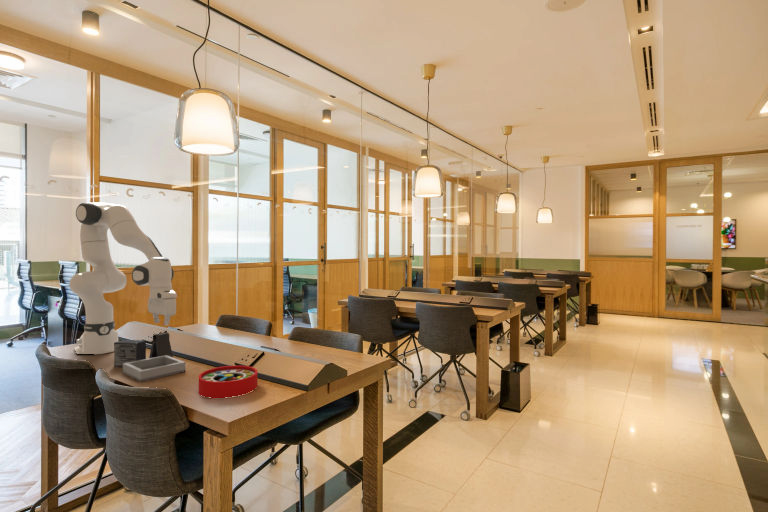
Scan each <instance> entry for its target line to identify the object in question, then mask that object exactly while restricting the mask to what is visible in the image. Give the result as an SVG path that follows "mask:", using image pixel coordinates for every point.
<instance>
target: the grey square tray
mask: <svg viewBox="0 0 768 512" xmlns="http://www.w3.org/2000/svg"><path fill="white" fill-rule="evenodd" d="M184 371H185V372H186V361H184V360H181V359H178V358H175V357H174V356H173V357H170V356H167V355H164V356H159V357H154V358H149V357H148V358H146V359H143V360H138V361H133V362H128V363H123V367H122V374H123V373H124V375H125V374H126V375H125V376H127V375H128V376H127V377H129V376H130V377H129V378H131V377H132V378H131V379H133V378H134V379H133V380H135V379H136V381H137V380H138V381H137V382H139V381H140V382H139V383H142V382H141V381H143V382H147V381H146V380H148V381H152V380H156V379H160V377H161V378H164V376H165V377H169V376H173V375H172V374H174V375H177V374H176V373H178V374H181V373H180V372H182V373H185V372H184ZM168 375H169V376H168ZM155 378H156V379H155ZM151 379H152V380H151Z"/></svg>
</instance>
